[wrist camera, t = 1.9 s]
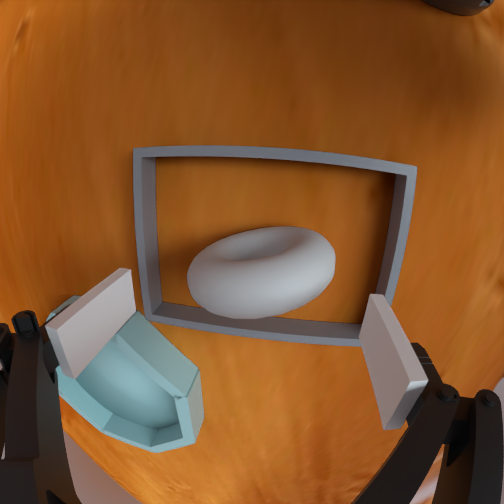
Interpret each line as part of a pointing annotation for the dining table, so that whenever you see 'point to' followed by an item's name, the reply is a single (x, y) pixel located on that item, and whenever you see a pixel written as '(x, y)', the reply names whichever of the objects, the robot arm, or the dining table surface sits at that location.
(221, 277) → the donut
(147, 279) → the grey rectangular frame
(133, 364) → the bowl
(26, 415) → the robot arm
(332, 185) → the dining table surface
